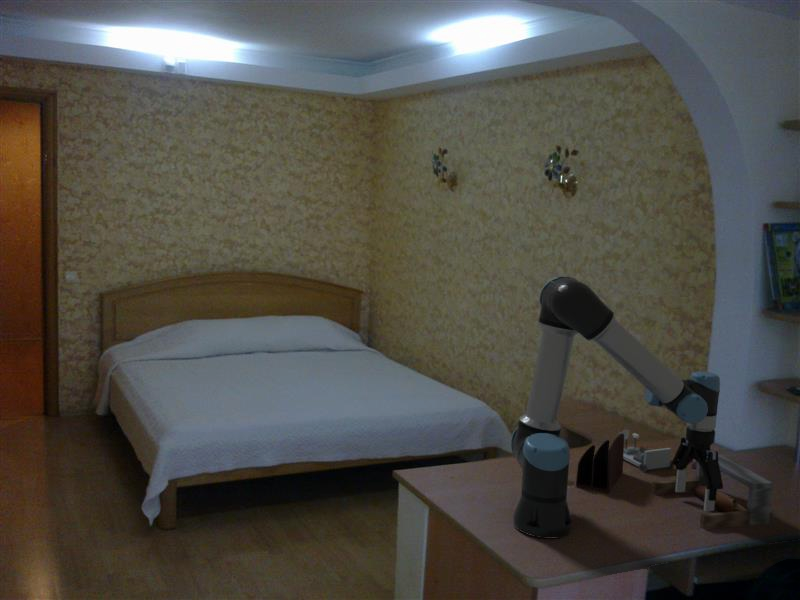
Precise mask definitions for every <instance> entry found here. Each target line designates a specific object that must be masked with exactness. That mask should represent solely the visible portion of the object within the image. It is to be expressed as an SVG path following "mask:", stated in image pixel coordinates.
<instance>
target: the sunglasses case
mask: <svg viewBox="0 0 800 600" xmlns="http://www.w3.org/2000/svg"><path fill="white" fill-rule="evenodd" d="M705 491H706V486H698V487H697V488H696V489H695V491H694V492H693V495H694V496H695V497H697V498H699V499H700V500H703V502H704V501H705ZM714 508H715V509H716V510H718V511H720V513H721V512H734V511H747V508H745V507H744V506H742V505H741V504H740V503H738V502H737V501H736V499H734V498H733V497H732V496H730V495H728V494H726V493H724V492H722V491H719V489H717V493H716V500H715V506H714Z"/></svg>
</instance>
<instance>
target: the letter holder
mask: <svg viewBox="0 0 800 600" xmlns="http://www.w3.org/2000/svg"><path fill="white" fill-rule="evenodd" d="M624 444H625V439H624V434H623V433H621V434H620V435H618V436H616V437H615V439H614V440H613V442H612V443H611V445H610V440H609V439H607V440H605V441H604V442H603V443H602V444H600V445H599V447H598V449H597V450H596V445H594V444H591V445H590V446H589V447H588V448H587V450H585V451H584V453H582V455H581V457H580V458H579V461H578V462H577V471H576V478H575V479H576V480H575V487H576V486H577V487H576V488H579V487H582V488H581V489H584V488H586V489H585V490H589V489H590V491H594V490H595V491H594V492H601V493H606V494H609V493H610V492H611V490H612V489H613V487H614V486H615V485H616V483H617V481H618V480H619V479H620V477H621V476H622V474H623V472H624V459H623V454H624V453H623V452H624V448H625V447H624V446H625V445H624ZM595 451H596V452H595Z"/></svg>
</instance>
